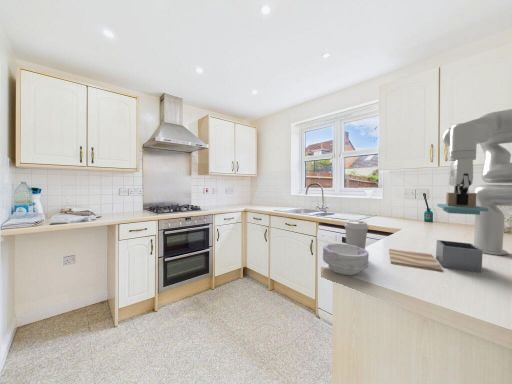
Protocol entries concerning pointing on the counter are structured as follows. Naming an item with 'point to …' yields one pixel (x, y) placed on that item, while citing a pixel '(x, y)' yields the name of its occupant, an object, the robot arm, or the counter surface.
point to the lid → (461, 209)
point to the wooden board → (414, 259)
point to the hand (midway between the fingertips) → (460, 203)
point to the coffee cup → (356, 233)
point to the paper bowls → (345, 258)
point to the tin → (459, 256)
